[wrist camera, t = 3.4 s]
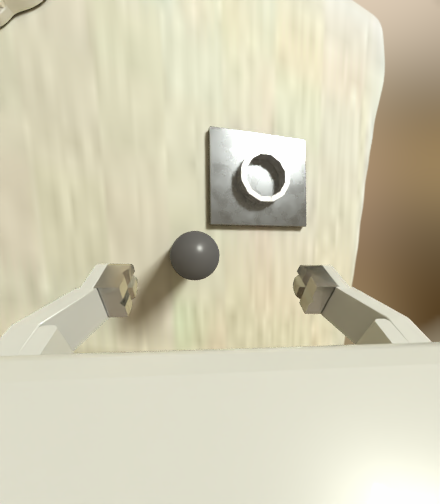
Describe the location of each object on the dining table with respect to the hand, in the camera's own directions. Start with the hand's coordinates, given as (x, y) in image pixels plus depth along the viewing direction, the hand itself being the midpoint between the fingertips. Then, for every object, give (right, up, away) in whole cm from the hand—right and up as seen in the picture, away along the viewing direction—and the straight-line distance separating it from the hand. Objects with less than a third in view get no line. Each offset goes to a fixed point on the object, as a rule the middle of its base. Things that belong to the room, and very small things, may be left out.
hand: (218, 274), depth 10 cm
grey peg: (-5, +1, +23) cm, 24 cm away
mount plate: (+7, +14, +26) cm, 31 cm away
